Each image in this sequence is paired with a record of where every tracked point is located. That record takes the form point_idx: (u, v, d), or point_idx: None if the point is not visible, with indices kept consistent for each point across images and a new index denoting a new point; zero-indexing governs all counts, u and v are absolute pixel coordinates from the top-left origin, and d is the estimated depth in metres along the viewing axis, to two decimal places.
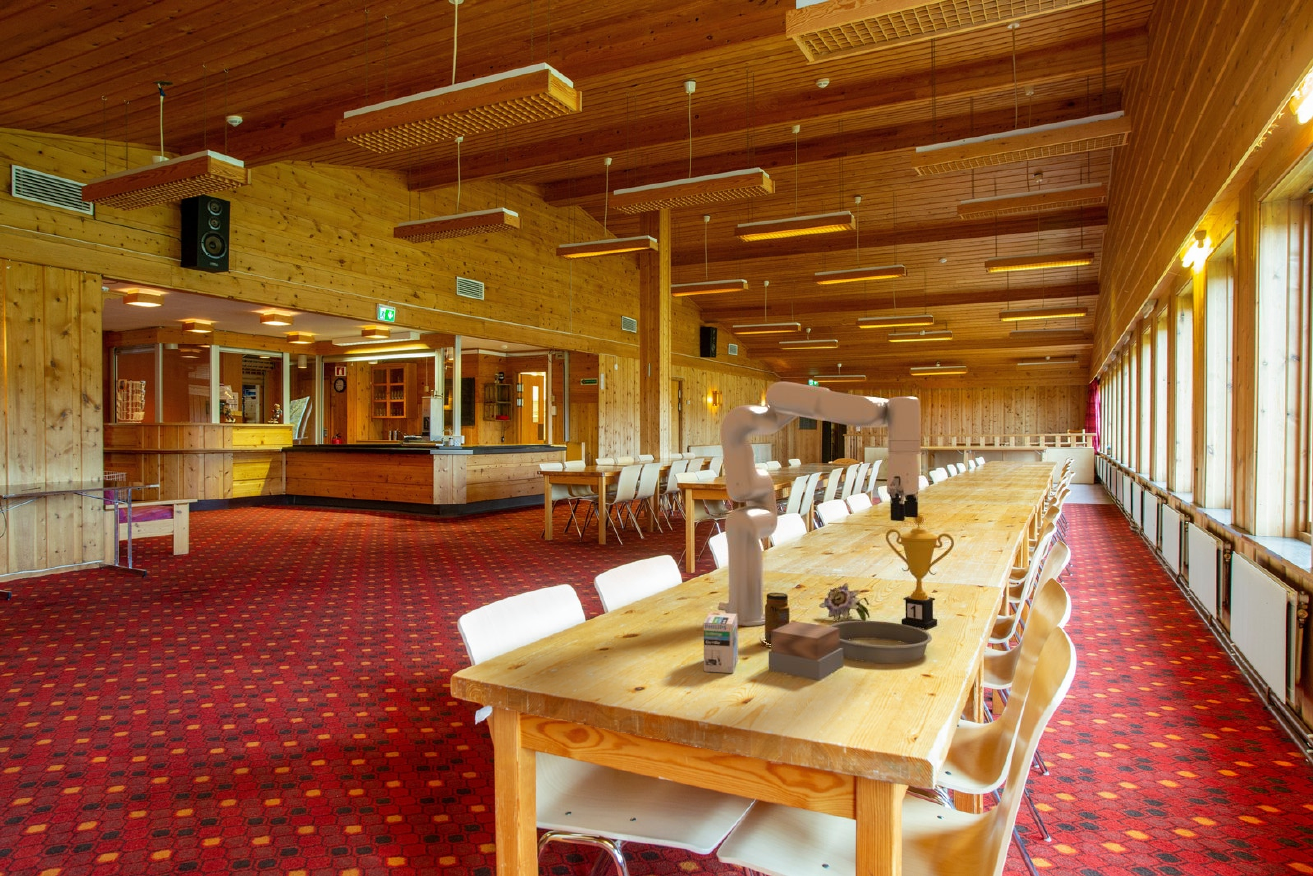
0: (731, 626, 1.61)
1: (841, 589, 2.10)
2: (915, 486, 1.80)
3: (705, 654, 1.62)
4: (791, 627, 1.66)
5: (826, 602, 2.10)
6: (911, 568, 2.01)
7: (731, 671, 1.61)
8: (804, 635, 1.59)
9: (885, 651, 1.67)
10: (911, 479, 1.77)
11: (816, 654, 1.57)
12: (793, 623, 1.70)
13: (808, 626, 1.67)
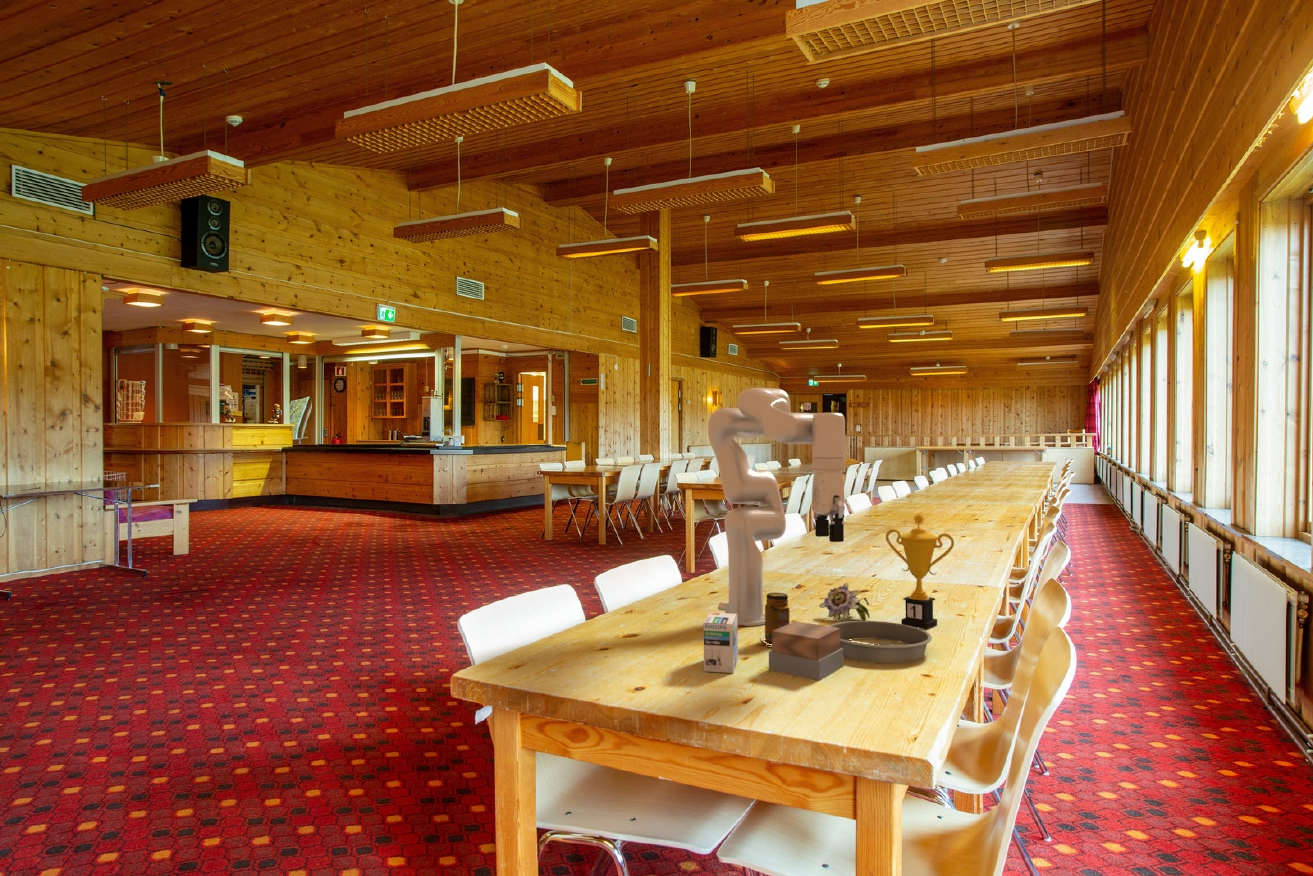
0: (731, 626, 1.61)
1: (841, 589, 2.10)
2: None
3: (705, 654, 1.62)
4: (792, 627, 1.66)
5: (826, 602, 2.10)
6: (911, 568, 2.01)
7: (731, 671, 1.61)
8: (805, 635, 1.59)
9: (885, 651, 1.67)
10: None
11: (817, 654, 1.57)
12: (794, 623, 1.70)
13: (809, 626, 1.67)
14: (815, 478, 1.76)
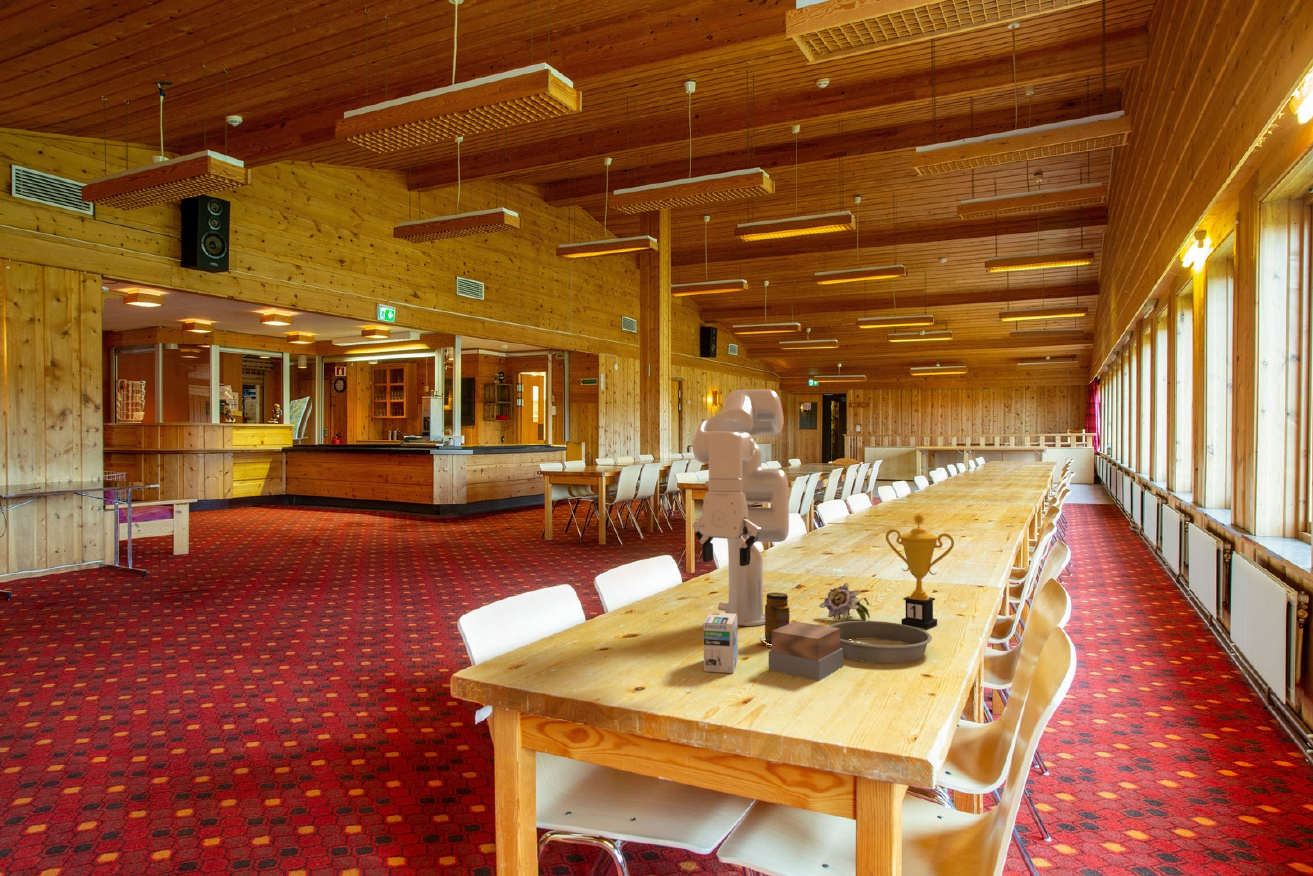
0: (731, 626, 1.61)
1: (841, 589, 2.10)
2: None
3: (705, 654, 1.62)
4: (792, 627, 1.66)
5: (826, 602, 2.10)
6: (911, 568, 2.01)
7: (731, 671, 1.61)
8: (805, 635, 1.59)
9: (885, 651, 1.67)
10: None
11: (816, 655, 1.56)
12: (794, 623, 1.70)
13: (809, 626, 1.67)
14: (712, 500, 1.66)
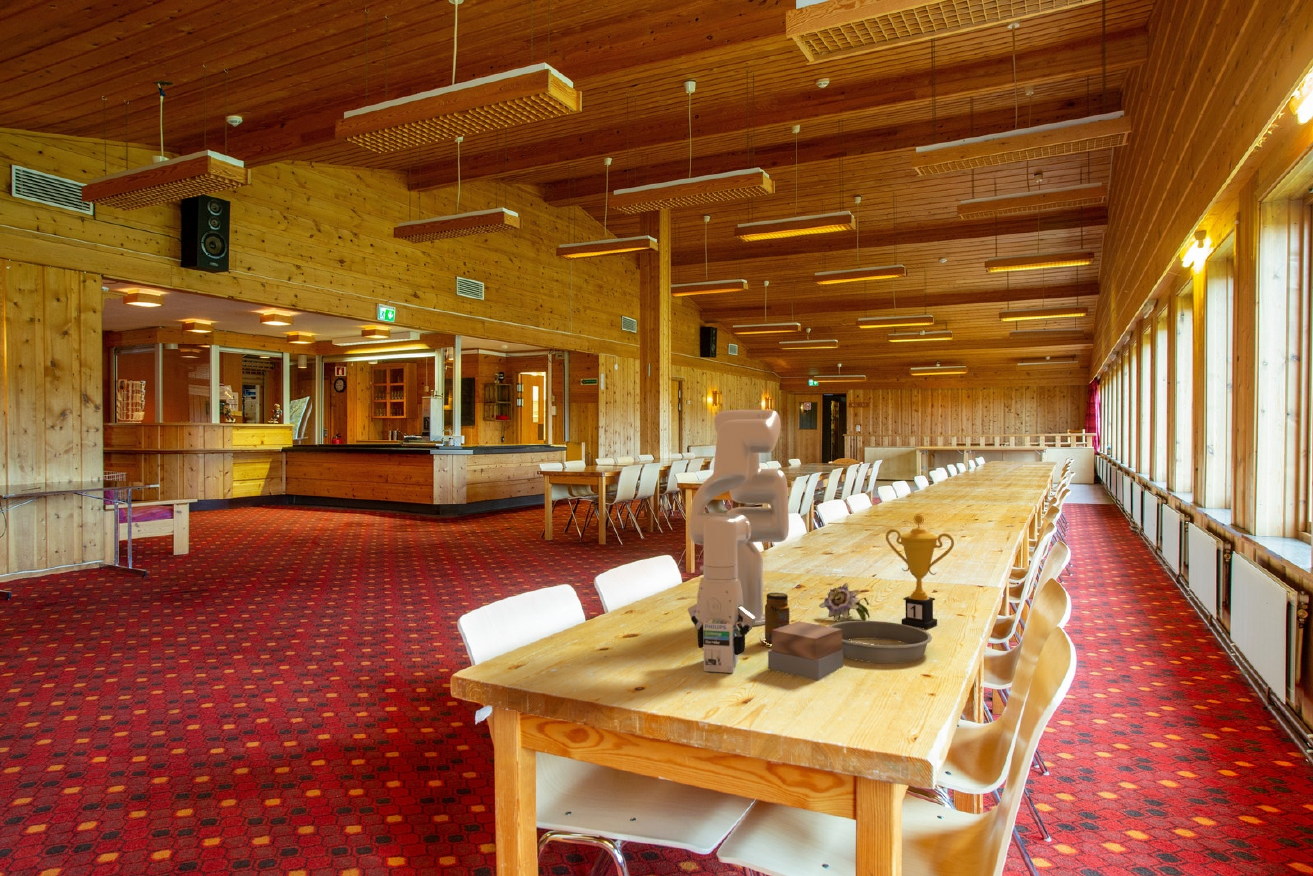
0: (731, 626, 1.61)
1: (841, 589, 2.10)
2: None
3: (705, 654, 1.62)
4: (793, 627, 1.66)
5: (826, 602, 2.10)
6: (911, 568, 2.01)
7: (731, 671, 1.61)
8: (803, 635, 1.59)
9: (885, 651, 1.67)
10: None
11: (814, 654, 1.57)
12: (797, 623, 1.70)
13: (811, 626, 1.67)
14: (707, 587, 1.65)
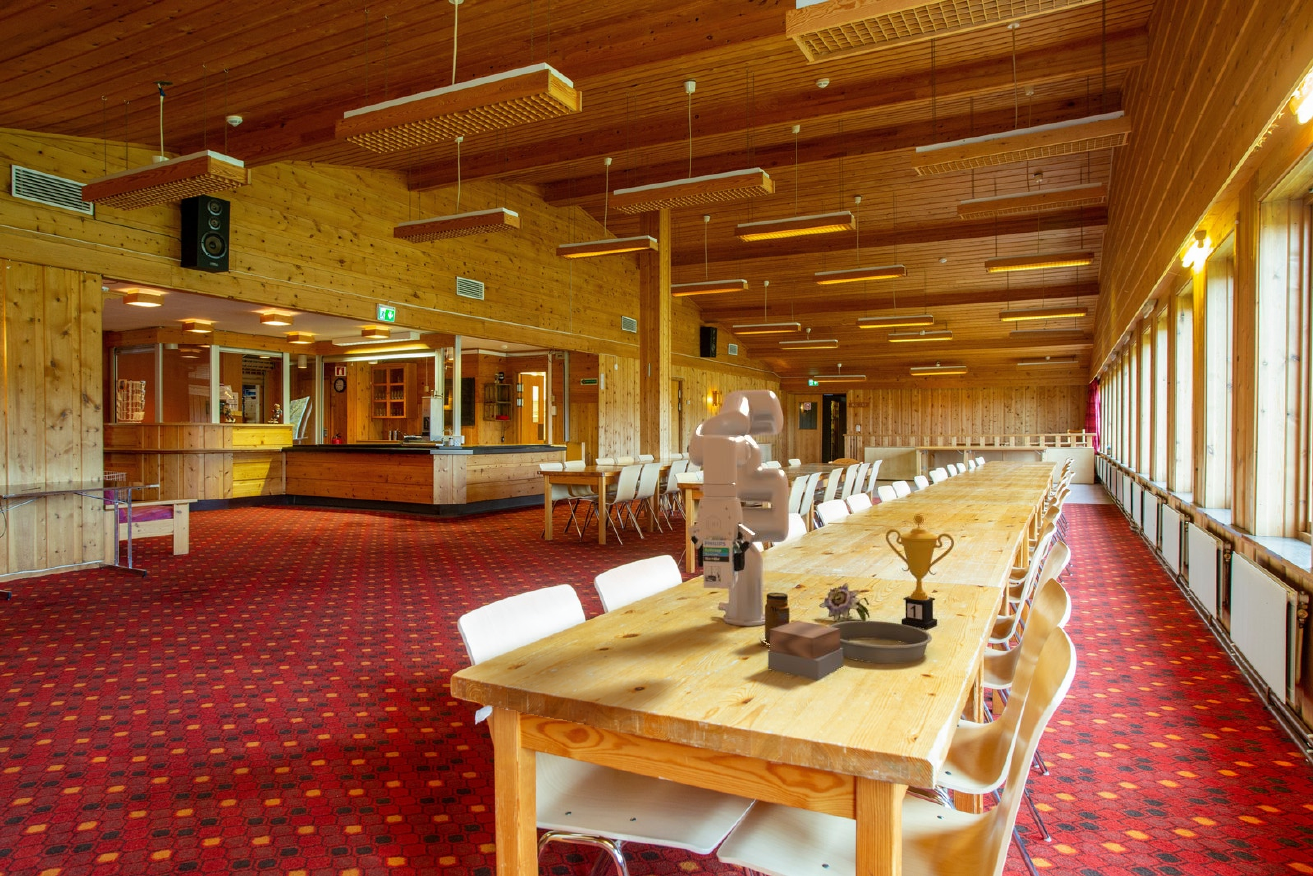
0: (730, 542, 1.61)
1: (841, 589, 2.10)
2: None
3: (705, 570, 1.63)
4: (791, 626, 1.67)
5: (826, 602, 2.10)
6: (911, 568, 2.01)
7: (731, 587, 1.61)
8: (800, 634, 1.60)
9: (885, 651, 1.67)
10: None
11: (811, 654, 1.57)
12: (795, 622, 1.70)
13: (809, 626, 1.67)
14: (706, 505, 1.66)
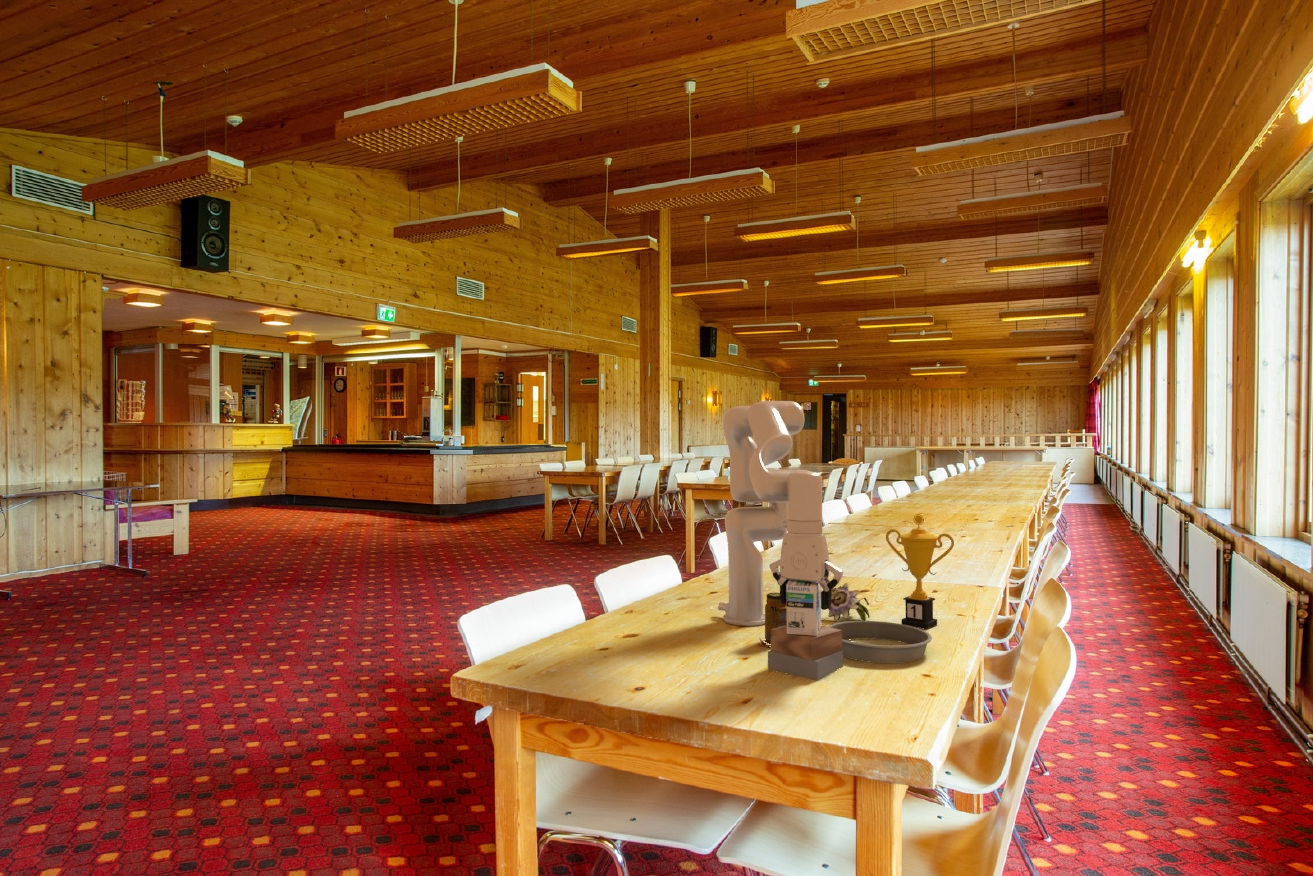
0: (815, 588, 1.59)
1: (841, 589, 2.10)
2: None
3: (788, 616, 1.60)
4: None
5: None
6: (911, 568, 2.01)
7: (815, 634, 1.59)
8: (800, 635, 1.60)
9: (885, 651, 1.67)
10: None
11: (810, 655, 1.57)
12: None
13: None
14: (791, 542, 1.63)
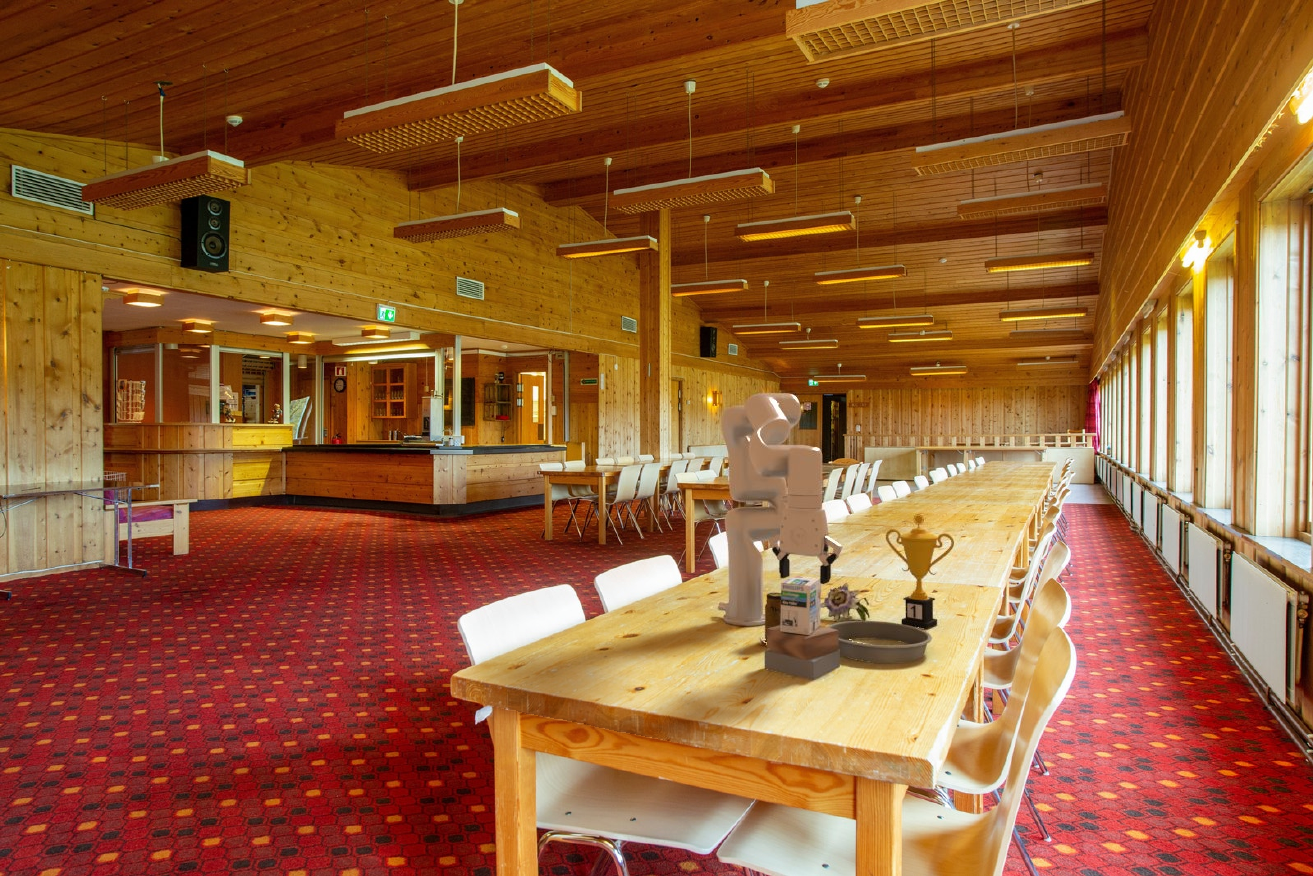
0: (808, 588, 1.59)
1: (841, 589, 2.10)
2: None
3: (782, 614, 1.62)
4: None
5: (826, 602, 2.10)
6: (911, 568, 2.01)
7: (807, 633, 1.59)
8: (795, 634, 1.60)
9: (885, 651, 1.67)
10: None
11: (804, 654, 1.58)
12: None
13: None
14: (791, 517, 1.63)
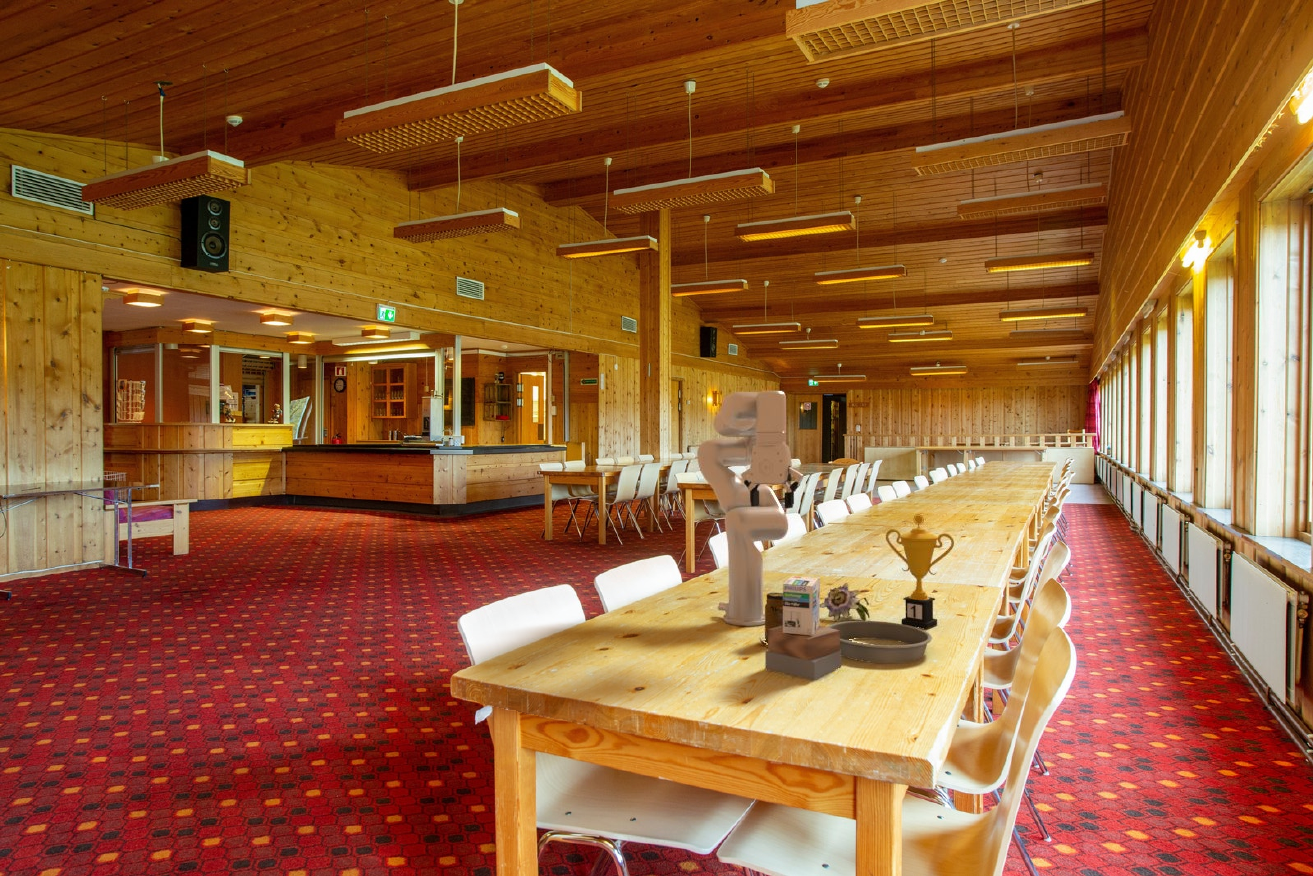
0: (811, 588, 1.59)
1: (841, 589, 2.10)
2: None
3: (784, 615, 1.61)
4: None
5: (826, 602, 2.10)
6: (911, 568, 2.01)
7: (810, 633, 1.59)
8: (797, 635, 1.60)
9: (885, 651, 1.67)
10: None
11: (807, 655, 1.57)
12: None
13: None
14: (759, 451, 1.88)
